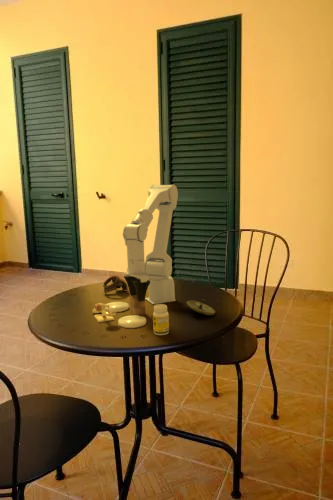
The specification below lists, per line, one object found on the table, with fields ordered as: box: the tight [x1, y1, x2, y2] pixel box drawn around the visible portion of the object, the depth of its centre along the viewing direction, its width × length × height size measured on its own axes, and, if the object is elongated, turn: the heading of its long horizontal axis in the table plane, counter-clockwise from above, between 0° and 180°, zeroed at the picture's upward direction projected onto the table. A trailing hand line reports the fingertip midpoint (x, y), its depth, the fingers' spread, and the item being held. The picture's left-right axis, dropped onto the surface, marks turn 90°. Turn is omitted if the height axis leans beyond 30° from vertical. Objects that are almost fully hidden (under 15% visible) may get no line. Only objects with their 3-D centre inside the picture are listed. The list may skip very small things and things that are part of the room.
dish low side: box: [105, 301, 130, 313], centre depth 147 cm, size 9×9×1 cm
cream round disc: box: [117, 314, 147, 329], centre depth 132 cm, size 9×9×1 cm
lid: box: [186, 298, 216, 316], centre depth 139 cm, size 11×10×5 cm
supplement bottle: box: [152, 303, 170, 336], centre depth 122 cm, size 5×5×8 cm
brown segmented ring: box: [102, 275, 130, 295], centre depth 167 cm, size 12×10×8 cm
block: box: [129, 295, 146, 316], centre depth 141 cm, size 4×4×6 cm
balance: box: [92, 302, 117, 323], centre depth 136 cm, size 5×17×6 cm, turn 24°
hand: (137, 298), depth 140 cm, fingers open, 7 cm apart
